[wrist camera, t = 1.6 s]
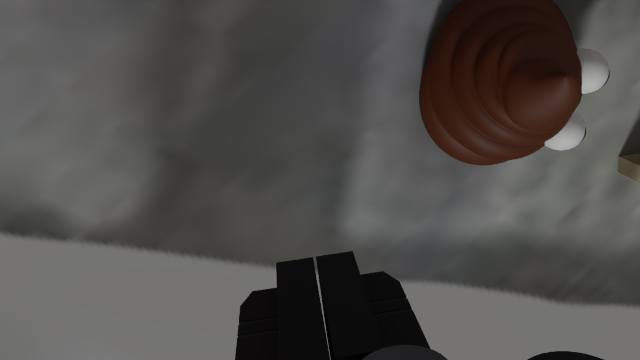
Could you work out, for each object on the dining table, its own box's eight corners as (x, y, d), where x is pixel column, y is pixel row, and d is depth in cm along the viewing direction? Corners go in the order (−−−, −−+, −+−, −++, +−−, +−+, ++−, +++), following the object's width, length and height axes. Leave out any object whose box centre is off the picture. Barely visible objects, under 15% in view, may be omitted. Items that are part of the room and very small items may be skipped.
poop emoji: (449, -35, 33) (516, -47, 24) (589, 10, 34) (702, 14, 25) (393, 139, 35) (435, 186, 27) (525, 174, 37) (607, 231, 28)
